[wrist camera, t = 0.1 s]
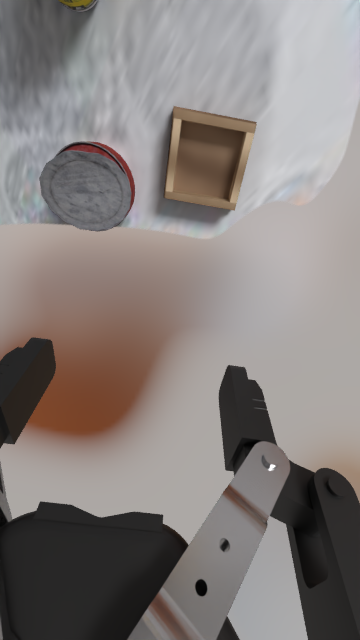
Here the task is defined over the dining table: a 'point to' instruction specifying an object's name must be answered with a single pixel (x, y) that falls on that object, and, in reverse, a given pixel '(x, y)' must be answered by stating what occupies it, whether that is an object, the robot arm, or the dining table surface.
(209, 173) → the wooden box
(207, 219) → the dining table surface
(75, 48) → the dining table surface
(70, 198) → the canned food
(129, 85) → the dining table surface
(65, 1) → the supplement bottle
